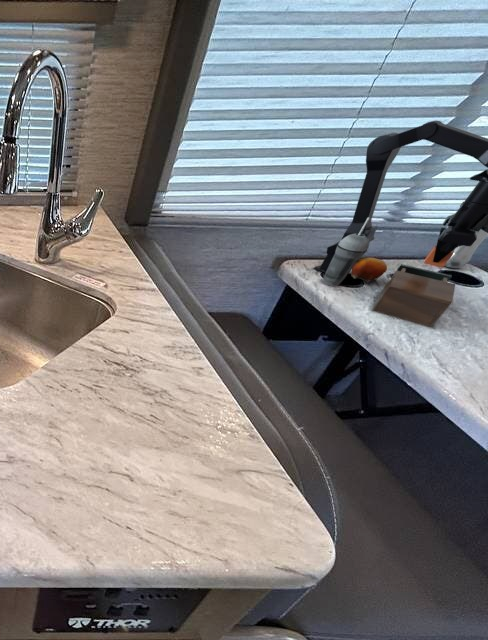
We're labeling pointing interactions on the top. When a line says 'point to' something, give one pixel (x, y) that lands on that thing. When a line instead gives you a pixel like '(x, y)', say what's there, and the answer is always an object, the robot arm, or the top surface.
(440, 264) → the block
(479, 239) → the plastic bottle
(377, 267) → the fruit
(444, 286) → the cabinet
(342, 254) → the beverage cup
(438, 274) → the drawer
